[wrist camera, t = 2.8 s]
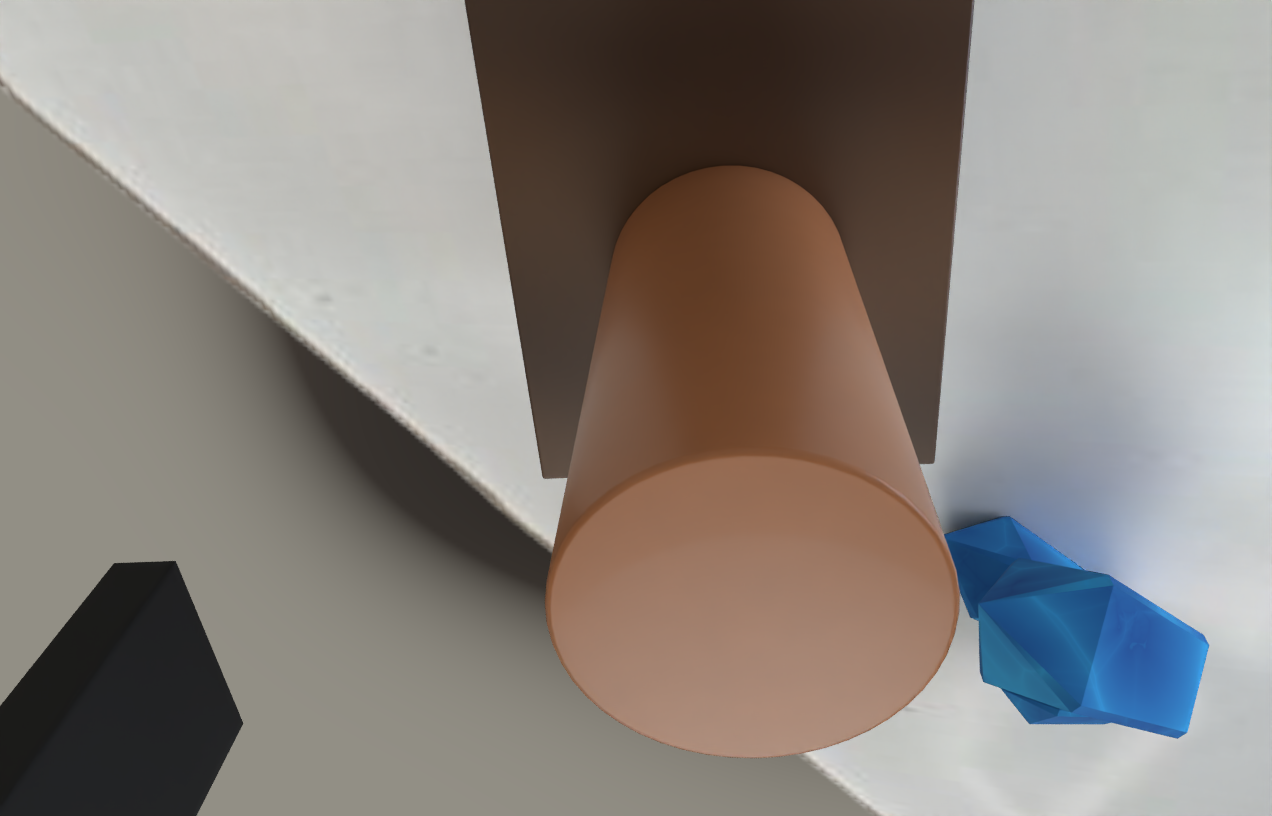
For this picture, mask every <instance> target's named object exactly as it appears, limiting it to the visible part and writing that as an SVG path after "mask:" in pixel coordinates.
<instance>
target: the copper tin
mask: <svg viewBox="0 0 1272 816" xmlns="http://www.w3.org/2000/svg"><path fill="white" fill-rule="evenodd" d="M959 599H960V590H959V584H958V577H957V571H956V568H955V565H954V562H953V559H952V556H951V553H950V551H949V548H948V545H947V542H946V539H945V536H944V533H943V530H942V528H941V525H940V522H939V519H938V516H937V513H936V510H935V507H934V505H933V502H932V499H931V496H930V493H929V490H928V487H927V485H926V482H925V479H924V476H923V473H922V470H921V467H920V464H919V462H918V459H917V456H916V453H915V450H914V447H913V444H912V442H911V439H910V436H909V433H908V430H907V427H906V424H905V421H904V419H903V416H902V413H901V410H900V407H899V404H898V401H897V399H896V396H895V393H894V390H893V387H892V384H891V381H890V378H889V376H888V373H887V370H886V367H885V364H884V361H883V358H882V355H881V353H880V350H879V347H878V344H877V341H876V338H875V335H874V333H873V330H872V327H871V324H870V321H869V318H868V315H867V312H866V310H865V307H864V304H863V301H862V298H861V295H860V292H859V290H858V287H857V284H856V281H855V278H854V275H853V272H852V269H851V267H850V264H849V261H848V258H847V255H846V252H845V249H844V246H843V244H842V241H841V238H840V235H839V232H838V230H837V228H836V226H835V224H834V222H833V221H832V219H831V217H830V216H829V215H828V213H827V212H826V210H825V209H824V208H823V206H822V205H821V204H820V203H819V202H818V201H817V200H816V199H815V198H814V197H813V196H812V195H811V194H810V193H808V192H807V191H806V190H804V189H803V188H802V187H801V186H799V185H797V184H796V183H794V182H792V181H791V180H789V179H787V178H785V177H783V176H780V175H778V174H775V173H773V172H770V171H766V170H763V169H759V168H754V167H746V166H716V167H709V168H704V169H700V170H696V171H692V172H689V173H687V174H684V175H682V176H680V177H677V178H675V179H673V180H671V181H670V182H668V183H666V184H664V185H663V186H661V187H660V188H658V189H657V190H656V191H654V192H653V193H652V194H650V195H649V196H648V197H647V198H646V199H645V200H644V201H643V202H642V203H641V204H640V205H639V206H638V207H637V208H636V210H635V211H634V212H633V213H632V215H631V216H630V217H629V219H628V220H627V222H626V224H625V226H624V227H623V229H622V231H621V233H620V235H619V238H618V240H617V243H616V245H615V249H614V253H613V257H612V261H611V266H610V271H609V276H608V281H607V286H606V291H605V296H604V301H603V306H602V311H601V316H600V320H599V325H598V330H597V335H596V340H595V345H594V350H593V355H592V360H591V365H590V370H589V375H588V380H587V385H586V390H585V395H584V400H583V404H582V409H581V414H580V419H579V424H578V429H577V434H576V439H575V444H574V449H573V454H572V459H571V464H570V469H569V474H568V479H567V484H566V489H565V493H564V498H563V503H562V508H561V513H560V518H559V523H558V528H557V533H556V538H555V543H554V548H553V553H552V558H551V563H550V568H549V573H548V578H547V583H546V596H545V609H546V620H547V625H548V629H549V633H550V637H551V640H552V643H553V646H554V648H555V650H556V652H557V655H558V657H559V659H560V661H561V663H562V665H563V667H564V668H565V670H566V671H567V673H568V674H569V676H570V677H571V679H572V680H573V682H574V683H575V684H576V685H577V686H578V687H579V688H580V690H581V691H582V692H583V693H584V694H585V696H587V697H588V698H589V699H590V700H591V701H592V702H593V703H594V704H595V705H596V706H598V707H599V708H600V709H601V710H602V711H604V712H605V713H606V714H608V715H609V716H611V717H612V718H614V719H615V720H617V721H618V722H619V723H621V724H623V725H625V726H626V727H628V728H630V729H632V730H634V731H635V732H637V733H639V734H642V735H644V736H646V737H648V738H651V739H653V740H656V741H658V742H660V743H664V744H667V745H670V746H674V747H676V748H679V749H683V750H688V751H692V752H697V753H701V754H706V755H714V756H723V757H735V758H736V757H737V758H765V757H780V756H787V755H793V754H801V753H805V752H810V751H814V750H818V749H822V748H826V747H829V746H832V745H835V744H838V743H841V742H844V741H847V740H849V739H851V738H854V737H856V736H858V735H860V734H862V733H865V732H867V731H869V730H871V729H872V728H874V727H876V726H878V725H879V724H881V723H883V722H884V721H886V720H888V719H889V718H891V717H892V716H893V715H895V714H896V713H897V712H899V711H900V710H901V709H903V708H904V707H905V706H907V705H908V704H909V703H910V702H911V701H912V700H913V699H914V698H915V697H916V696H917V695H918V694H919V693H920V692H921V691H922V690H923V689H924V688H925V687H926V685H927V684H928V683H929V682H930V680H931V679H932V678H933V677H934V675H935V674H936V673H937V671H938V669H939V667H940V666H941V664H942V662H943V661H944V659H945V657H946V655H947V653H948V650H949V648H950V645H951V643H952V640H953V637H954V634H955V630H956V625H957V620H958V615H959Z"/></svg>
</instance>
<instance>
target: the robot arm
mask: <svg viewBox="0 0 1272 816" xmlns="http://www.w3.org/2000/svg"><path fill="white" fill-rule="evenodd" d="M242 725H243V722H242V719H241V717H240V714H239V712H238V710H237V707H236V705H235V702H234V700H233V698H232V695H231V693H230V690H229V688H228V686H227V683H226V681H225V678H224V676H223V674H222V671H221V669H220V666H219V664H218V662H217V659H216V657H215V654H214V652H213V650H212V647H211V645H210V643H209V640H208V638H207V635H206V633H205V630H204V628H203V626H202V623H201V621H200V619H199V616H198V614H197V611H196V609H195V606H194V604H193V602H192V599H191V597H190V594H189V592H188V590H187V587H186V585H185V582H184V580H183V578H182V575H181V573H180V570H179V568H178V566H177V564H176V561H163V562H137V563H136V562H135V563H114V564H113V565H112V567H111V568H110V569H109V570H108V572H107V573H106V574H105V575H104V577H103V578H102V579H101V580H100V582H99V583H98V584H97V585H96V587H95V588H94V589H93V590H92V592H91V593H90V594H89V596H88V597H87V598H86V599H85V600H84V602H83V603H82V604H81V606H80V607H79V608H78V609H77V611H76V612H75V613H74V614H73V615H72V617H71V618H70V619H69V620H68V622H67V623H66V624H65V626H64V627H63V628H62V629H61V631H60V632H59V633H58V634H57V636H56V637H55V638H54V639H53V641H52V642H51V643H50V644H49V646H48V647H47V648H46V649H45V651H44V652H43V653H42V654H41V656H40V657H39V658H38V659H37V661H36V662H35V663H34V664H33V666H32V667H31V668H30V669H29V671H28V672H27V673H26V674H25V676H24V677H23V678H22V679H21V681H20V682H19V683H18V685H17V686H16V687H15V688H14V690H13V691H12V692H11V693H10V694H9V696H8V697H7V698H6V700H5V701H4V702H3V703H2V705H1V706H0V816H196V815H197V813H198V811H199V809H200V807H201V806H202V804H203V802H204V800H205V798H206V796H207V794H208V792H209V790H210V788H211V786H212V784H213V782H214V780H215V778H216V776H217V774H218V772H219V770H220V768H221V766H222V764H223V762H224V760H225V758H226V756H227V754H228V752H229V750H230V748H231V746H232V745H233V743H234V741H235V739H236V736H237V735H238V733H239V730H240V729H241V727H242Z"/></svg>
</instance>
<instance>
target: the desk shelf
mask: <svg viewBox="0 0 1272 816" xmlns="http://www.w3.org/2000/svg"><path fill="white" fill-rule="evenodd" d="M465 6H466V12H467V18H468V24H469V30H470V36H471V43H472V49H473V55H474V61H475V67H476V73H477V79H478V85H479V91H480V98H481V104H482V110H483V116H484V122H485V128H486V134H487V140H488V146H489V153H490V159H491V165H492V171H493V177H494V183H495V189H496V195H497V201H498V208H499V214H500V220H501V226H502V232H503V238H504V244H505V250H506V256H507V263H508V269H509V275H510V281H511V287H512V293H513V299H514V305H515V311H516V318H517V324H518V330H519V336H520V342H521V348H522V354H523V360H524V366H525V373H526V379H527V385H528V391H529V397H530V403H531V409H532V415H533V421H534V428H535V434H536V440H537V446H538V452H539V458H540V464H541V470H542V476H543V478H545V479H549V478H568V474H569V469H570V464H571V459H572V454H573V449H574V444H575V439H576V434H577V429H578V424H579V419H580V414H581V409H582V404H583V400H584V395H585V390H586V385H587V380H588V375H589V370H590V365H591V360H592V355H593V350H594V345H595V340H596V335H597V330H598V325H599V320H600V316H601V311H602V306H603V301H604V296H605V291H606V286H607V281H608V276H609V271H610V266H611V261H612V257H613V253H614V249H615V245H616V243H617V240H618V238H619V235H620V233H621V231H622V229H623V227H624V226H625V224H626V222H627V220H628V219H629V217H630V216H631V215H632V213H633V212H634V211H635V210H636V208H637V207H638V206H639V205H640V204H641V203H642V202H643V201H644V200H645V199H646V198H647V197H648V196H649V195H650V194H652V193H653V192H654V191H656V190H657V189H658V188H660V187H661V186H663V185H664V184H666V183H668V182H670V181H671V180H673V179H675V178H677V177H680V176H682V175H684V174H687V173H689V172H692V171H696V170H700V169H704V168H709V167H716V166H746V167H754V168H759V169H763V170H766V171H770V172H773V173H775V174H778V175H780V176H783V177H785V178H787V179H789V180H791V181H792V182H794V183H796V184H797V185H799V186H801V187H802V188H803V189H804V190H806V191H807V192H808V193H810V194H811V195H812V196H813V197H814V198H815V199H816V200H817V201H818V202H819V203H820V204H821V205H822V206H823V208H824V209H825V210H826V212H827V213H828V215H829V216H830V217H831V219H832V221H833V222H834V224H835V226H836V228H837V230H838V232H839V235H840V238H841V241H842V244H843V246H844V249H845V252H846V255H847V258H848V261H849V264H850V267H851V269H852V272H853V275H854V278H855V281H856V284H857V287H858V290H859V292H860V295H861V298H862V301H863V304H864V307H865V310H866V312H867V315H868V318H869V321H870V324H871V327H872V330H873V333H874V335H875V338H876V341H877V344H878V347H879V350H880V353H881V355H882V358H883V361H884V364H885V367H886V370H887V373H888V376H889V378H890V381H891V384H892V387H893V390H894V393H895V396H896V399H897V401H898V404H899V407H900V410H901V413H902V416H903V419H904V421H905V424H906V427H907V430H908V433H909V436H910V439H911V442H912V444H913V447H914V450H915V453H916V456H917V459H918V462H919V464H933V463H934V461H935V450H936V439H937V427H938V416H939V404H940V393H941V381H942V370H943V358H944V346H945V335H946V323H947V312H948V300H949V289H950V277H951V265H952V254H953V242H954V231H955V219H956V208H957V196H958V185H959V173H960V161H961V150H962V138H963V127H964V115H965V104H966V92H967V81H968V69H969V57H970V46H971V34H972V23H973V11H974V0H465Z"/></svg>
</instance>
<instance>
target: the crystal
mask: <svg viewBox="0 0 1272 816" xmlns="http://www.w3.org/2000/svg"><path fill="white" fill-rule="evenodd" d="M944 536H945V539H946V542H947V545H948V548H949V551H950V553H951V556H952V559H953V562H954V565H955V568H956V571H957V577H958V584H959V590H960V593H961V595H962V598H963V600H964V603H965V605H966V608H967V610H968V613H969V615H970V617H971V618H973V619H975V620H978V621H979V656H980V673H981V676H982V679H983V682H985V683H988V684H991V685H994V686H996V687H999V688H1001V689H1002V691H1003V692H1004V693H1005V694H1006V696H1007V697H1008V698H1009V699H1010V701H1011V702H1012V703H1013V704H1014V706H1015V707H1016V708H1017V709H1018V711H1019V712H1020V713H1021V714H1022V716H1023V717H1024V718H1025V719H1026V721H1027V722H1028V723H1029V724H1107V723H1111V722H1112V723H1116V724H1120V725H1124V726H1128V727H1132V728H1136V729H1140V730H1144V731H1148V732H1153V733H1157V734H1161V735H1165V736H1169V737H1173V738H1177V739H1178V738H1179V737H1181V736H1182V735H1184V734H1186V733H1187V731H1188V727H1189V723H1190V719H1191V715H1192V711H1193V707H1194V703H1195V699H1196V695H1197V691H1198V688H1199V684H1200V680H1201V676H1202V672H1203V668H1204V664H1205V660H1206V656H1207V652H1208V648H1209V644H1208V642H1207V640H1206V639H1205V637H1204V635H1203V634H1201V633H1199V632H1198V631H1196V630H1195V629H1193V628H1192V627H1190V626H1188V625H1187V624H1185V623H1184V622H1182V621H1180V620H1179V619H1177V618H1176V617H1174V616H1173V615H1171V614H1169V613H1168V612H1166V611H1165V610H1163V609H1162V608H1160V607H1158V606H1157V605H1155V604H1154V603H1152V602H1150V601H1149V600H1147V599H1146V598H1144V597H1143V596H1141V595H1139V594H1138V593H1136V592H1135V591H1133V590H1132V589H1130V588H1128V587H1127V586H1125V585H1124V584H1122V583H1120V582H1119V581H1117V580H1116V579H1114V578H1113V577H1111V576H1109V575H1106V574H1101V573H1096V572H1091V571H1086V570H1084V569H1082V568H1081V567H1080V566H1078V565H1077V564H1075V563H1074V562H1073V561H1071V560H1070V559H1068V558H1067V557H1066V556H1064V555H1063V554H1061V553H1060V552H1059V551H1057V550H1056V549H1054V548H1053V547H1052V546H1050V545H1049V544H1047V543H1046V542H1045V541H1043V540H1042V539H1041V538H1039V537H1038V536H1036V535H1035V534H1034V533H1032V532H1031V531H1029V530H1028V529H1027V528H1025V527H1024V526H1022V525H1021V524H1020V523H1018V522H1017V521H1015V520H1014V519H1013V518H1011V517H1010V516H1005V517H999V518H996V519H993V520H989V521H986V522H983V523H980V524H976V525H973V526H970V527H967V528H963V529H960V530H957V531H954V532H951V533H947V534H944Z"/></svg>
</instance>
